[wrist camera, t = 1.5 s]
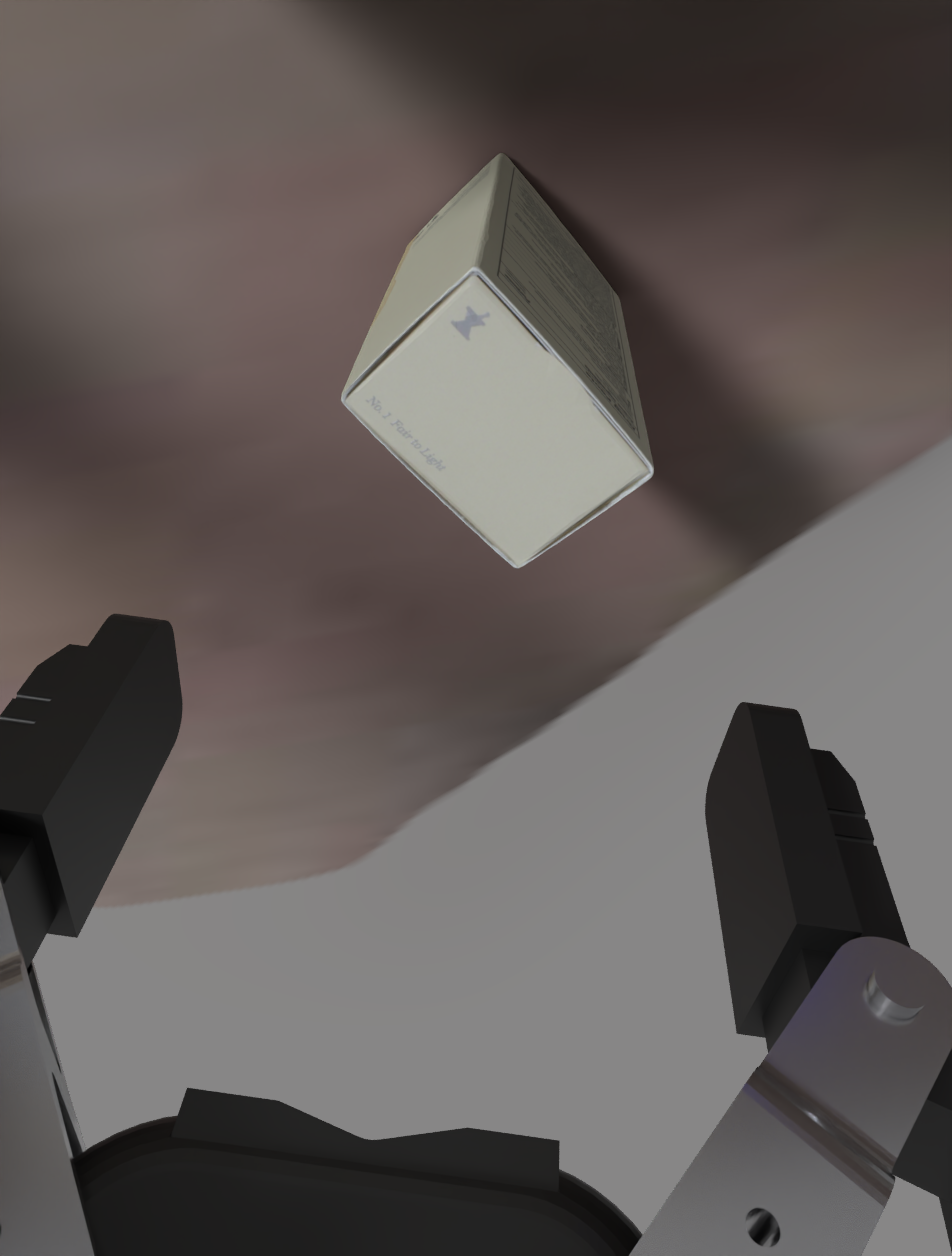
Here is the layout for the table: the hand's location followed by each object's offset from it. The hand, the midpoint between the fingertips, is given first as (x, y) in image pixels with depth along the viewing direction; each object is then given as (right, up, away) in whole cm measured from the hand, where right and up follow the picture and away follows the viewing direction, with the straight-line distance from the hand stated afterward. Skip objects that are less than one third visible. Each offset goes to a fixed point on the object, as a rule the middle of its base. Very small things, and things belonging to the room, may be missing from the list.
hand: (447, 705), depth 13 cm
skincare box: (+2, +13, +17) cm, 21 cm away
